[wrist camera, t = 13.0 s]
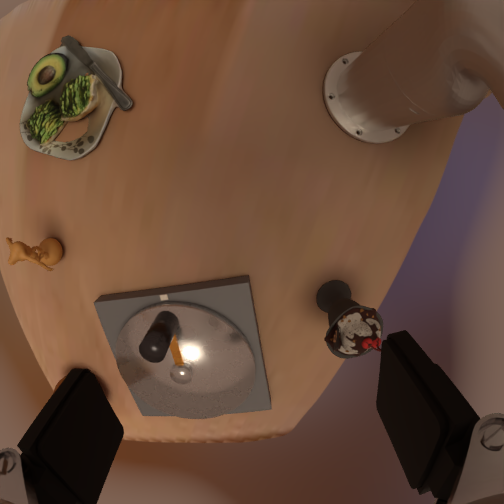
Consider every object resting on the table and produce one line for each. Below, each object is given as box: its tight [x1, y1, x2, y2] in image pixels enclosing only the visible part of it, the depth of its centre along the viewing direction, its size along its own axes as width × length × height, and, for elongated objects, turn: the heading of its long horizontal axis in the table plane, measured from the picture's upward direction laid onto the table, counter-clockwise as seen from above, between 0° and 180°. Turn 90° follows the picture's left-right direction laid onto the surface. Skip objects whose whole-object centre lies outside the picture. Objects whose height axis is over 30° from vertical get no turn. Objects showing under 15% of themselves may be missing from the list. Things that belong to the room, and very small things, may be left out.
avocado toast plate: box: [20, 35, 133, 160], centre depth 31 cm, size 19×18×5 cm
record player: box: [115, 302, 255, 419], centre depth 36 cm, size 20×20×8 cm
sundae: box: [317, 280, 383, 358], centre depth 33 cm, size 7×7×15 cm
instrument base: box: [94, 275, 272, 416], centre depth 42 cm, size 22×22×3 cm
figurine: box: [6, 237, 62, 271], centre depth 33 cm, size 8×6×12 cm
